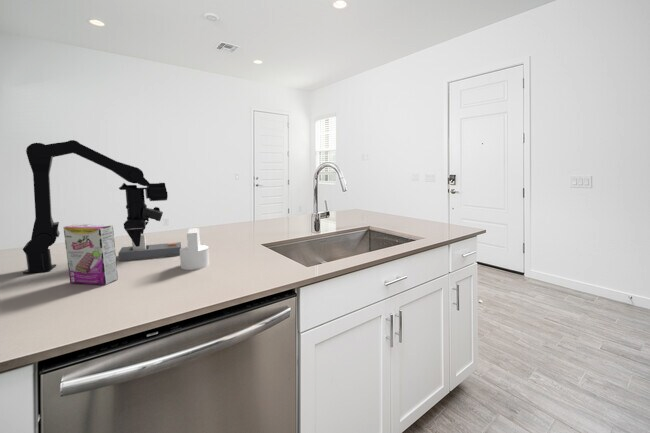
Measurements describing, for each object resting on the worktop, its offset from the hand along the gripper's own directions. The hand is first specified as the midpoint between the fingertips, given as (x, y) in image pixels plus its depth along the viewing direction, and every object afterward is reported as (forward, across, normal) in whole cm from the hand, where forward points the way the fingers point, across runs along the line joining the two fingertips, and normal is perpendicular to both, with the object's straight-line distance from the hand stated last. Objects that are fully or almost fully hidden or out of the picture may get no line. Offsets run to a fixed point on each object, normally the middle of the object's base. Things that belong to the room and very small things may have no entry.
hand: (139, 243), depth 115 cm
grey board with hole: (+5, 0, -7) cm, 8 cm away
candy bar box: (+5, -26, +9) cm, 28 cm away
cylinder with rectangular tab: (+5, -21, -18) cm, 28 cm away
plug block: (+5, 0, 0) cm, 5 cm away
